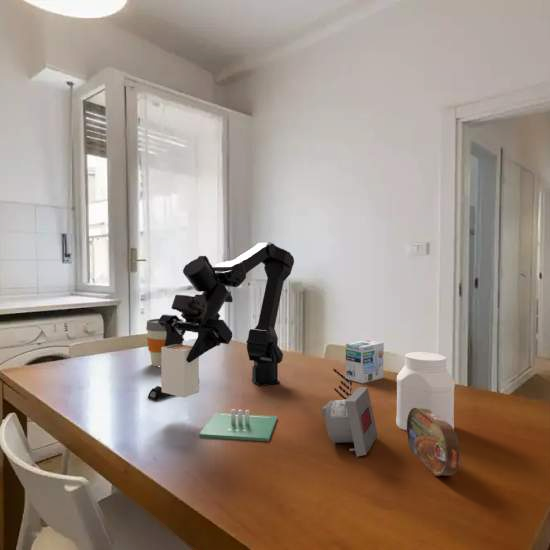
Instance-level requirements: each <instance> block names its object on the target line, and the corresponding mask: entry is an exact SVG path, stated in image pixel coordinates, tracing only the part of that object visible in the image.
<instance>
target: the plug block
mask: <svg viewBox="0 0 550 550" xmlns="http://www.w3.org/2000/svg"><path fill="white" fill-rule="evenodd" d="M192 347H193V345H188V344H174V345H170V346H165V347H161V367H160V368H161V369H160V371H161V387H162V392H163V393H167V394H170V395H171V396H176V397H179V398H187V397H190V396H193V395H196V394H198V393H199V392H200V390H199V389H200V373H199V372H200V370H199V369H200V365H199V364H200V359H199V357H200V356H199V357H198V358H196V359H195V360H193V361H192V362H190V363H189V362H188V361H187V360H186V359H187V357H188V354H189V352H190V351H191V349H192Z"/></svg>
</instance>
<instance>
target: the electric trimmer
mask: <svg viewBox="0 0 550 550" xmlns="http://www.w3.org/2000/svg"><path fill="white" fill-rule="evenodd" d="M170 395H171V394H167V393H163V392H162V386H159V385H157V386H155V387H153V388H152V389H151V390H150V391H149V393H148V395H147V399H149V400H151V401H160V399H161V398H164V397H167V396H170Z"/></svg>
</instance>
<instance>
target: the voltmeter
mask: <svg viewBox="0 0 550 550" xmlns="http://www.w3.org/2000/svg"><path fill="white" fill-rule="evenodd" d="M332 370H333V371H334V373H336V374H337V375H338V376H340V378H342V379H343V380H345V381H346V382H347V383H348V384H349V385H347V383H346V382H344V381H343V380H340V384H341V385H342V386H344V387H345V388H346V389H347V390H348V391H349V392H350V393H349V392H348V391H347V390H346V389H344V388H343V387H342V386H341V385H339V386H338V389H340V390H341V392H343V393H344V394H345V395H346V396H347V397H348V398H347V397H346V396H344V394H342V393H341V392H340V391H339V390H338V389H336V387H334V389H333V390H334V391H335V392H336V393H337V394H338V395H339V397H341V398H342V399H337V400H336V399H335V400H329V401H328V402H327V403H326V404H325V405H323V406H322V408H320V411H321V412H320V413H321V417H322V418H324V419H325V427H326V431H327V435H328V437H329V439H330V441H331V442H332V443H334V444H336V443H337V444H339V443H340V444H342V443H353V445H354V446H353V447H354V448H351V447H350V448H349V452H355V455H356V457H357V458H358V457H362V456H366V455H367V454H368V452H369V451H370V449H371V448H372V446H373V444H374V442H375V440H376V438H377V437H378V432H377V431H378V430H377V426H376V421H375V417H374V412H373V406H372V403H371V398H370V393H369V389H368V387H363V386H362V387H361V386H358V387H357V388H356V389H355V390H353V391H352V389H353V388H352V387H350V386H352V385H353V381H352V380H348V379H346V375H344V374H342V373H340V372H339V371H338V369H336V368H333V369H332Z"/></svg>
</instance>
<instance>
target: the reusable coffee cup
mask: <svg viewBox="0 0 550 550" xmlns="http://www.w3.org/2000/svg"><path fill="white" fill-rule="evenodd" d="M159 319H160V318H153V319H148V320H146V327H145V328H146V332H147V337H146V340H147V348H148V351H149V353H150V361H151V366H152V365H154V366H161V347H164V345H165V341H166V334H167V333H166V331H165V330H164V329H163V328H162V326H161V325H160V324H159V323H158V320H159ZM179 319H180V320H181V321H182V322H184V319H183V318H179ZM182 337H183V338H184V335H183V336H182ZM183 343H184V341H183V342H182V343H181V344H182V345H184V344H183ZM154 366H153V367H154Z"/></svg>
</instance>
